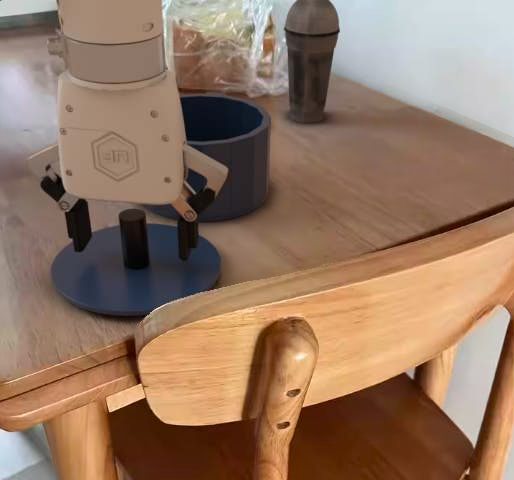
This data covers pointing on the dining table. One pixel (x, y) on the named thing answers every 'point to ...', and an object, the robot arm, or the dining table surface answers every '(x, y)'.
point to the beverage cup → (310, 56)
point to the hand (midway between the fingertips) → (134, 249)
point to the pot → (227, 152)
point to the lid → (133, 268)
